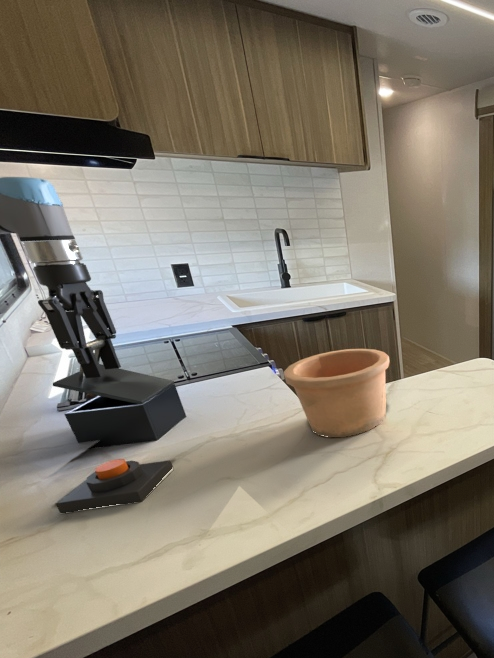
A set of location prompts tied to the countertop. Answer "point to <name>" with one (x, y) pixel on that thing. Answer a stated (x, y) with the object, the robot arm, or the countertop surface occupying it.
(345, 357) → the pottery
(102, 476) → the button
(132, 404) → the dark grey box
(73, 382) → the lid
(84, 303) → the robot arm
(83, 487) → the panel
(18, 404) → the countertop surface
